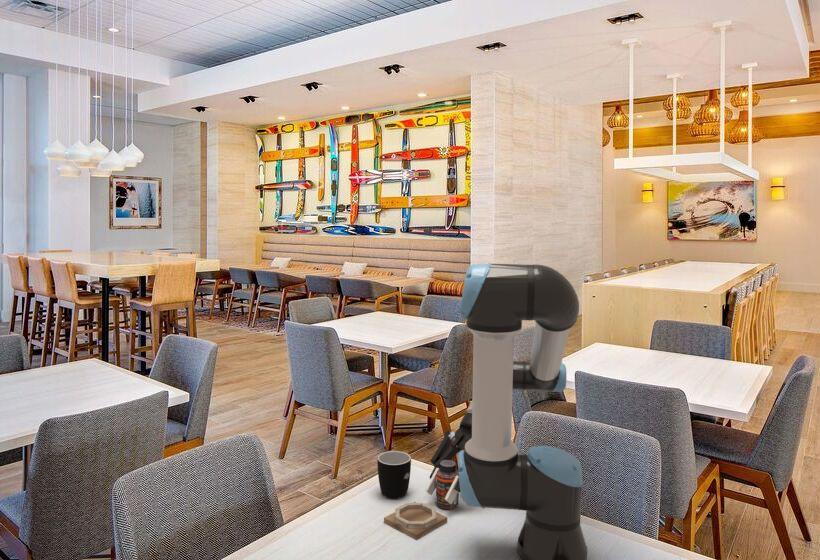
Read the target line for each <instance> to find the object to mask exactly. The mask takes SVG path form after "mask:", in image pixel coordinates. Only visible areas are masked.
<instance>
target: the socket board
mask: <svg viewBox="0 0 820 560" xmlns="http://www.w3.org/2000/svg"><path fill="white" fill-rule="evenodd" d="M394 510H395V511H394V512H393V513H390V514H389V515H387V516H384V517H383V523H384V524H386V525H387V526H390V527H392V528H394V530H395V529H396V531H400V532H401V533H403V534H405V535H407V536H408V537H410V538H411V539H412V538H413V539H415V540H416V539H418V540H419V539H421V538H422V536H423V537H424V536H426V535H427V534H430V533H431V532H433V531H435V530H436V529H438V528H440V527H442V526H443V525H445V524H447V523H448V516H446V515H443V514H442V513H439V512H437V510H436V507H434V506H431V505H429V504H427V503H425V502H416V501H413V502H406V503H404V504H402V505H400V506H398V507H396V508H395V509H394Z"/></svg>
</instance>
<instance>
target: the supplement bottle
mask: <svg viewBox="0 0 820 560" xmlns="http://www.w3.org/2000/svg"><path fill="white" fill-rule="evenodd" d="M456 465H457V464H456V462H455V461H454V460H452V459H451V460H444V461H441V462H440V469H438V471H437V473H436V489H435V504H436V506H437V507H439V508H440V509H444V510H453V509H455V508H457V507H458V505H459V498H460V497H459V496H460V495H459V494H460V492H458V493H457V495H456V497H455V499H454V501H453V503H452V504H449V503H448V502H447V501H446V500H445V497H446V495H447V493H448V491H449V489H450V487H451V485H452V483H453V481H454V479H455V477H456V475H457V476H459V470H458V469H457V468H456Z"/></svg>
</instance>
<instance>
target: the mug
mask: <svg viewBox="0 0 820 560" xmlns="http://www.w3.org/2000/svg"><path fill="white" fill-rule="evenodd" d="M411 466H412V457H411V455H410V454H408V453H407V452H404V451H402V450H401V451H399V450H388V451H385V452H382V453H379V455H378V457H377V473H378V475H377V476H378V484H379V488H380V492H381V494H382V495H383V497H384V498H387V499H389V498H390V500H397V499H398V498H399V499H402V498H403V496H404V497H405V496H406V494H407V493H408V490H409V486H410V480H411V479H410V478H411V470H412V469H411V468H412V467H411ZM401 497H402V498H401ZM399 499H398V500H399Z"/></svg>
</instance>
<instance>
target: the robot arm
mask: <svg viewBox="0 0 820 560" xmlns="http://www.w3.org/2000/svg"><path fill="white" fill-rule="evenodd" d="M462 289H463V290H462V294H461V303H460V311H459V317H460V318H461V319H463V320H466V329H467V330H468V331H469V332H470V333H471V334H472V335H473V345H472V346H473V347H472V349H473V351H472V352H473V353H472V354H473V355H472V358H473V359H472V400H471V402H470V404H469V405H468V408H467V409H466V412H465V413H464V415H463V417H462V419H461V420H460V422H459V428H457V429H456V430H455V431H450V430H449V429H448V430H446V431H445V433H444V436H443V439H442V440H441V443H440V445H439V446H438V447H437V449H436V451H435V452H434V454H433V455H432V458H431V460H430V463H431V464H432V465H433V466H434V467H433V469H432V471H431V473H430V475H429V482H428V483H427V486H426V487H425V489H424V491H425V492H426V493H427V494H428V495H430V496H433V494H434V492H436V473H437V471H438V469H440V462H441V461H444V460H451V461H452V460H453V458H454V457H456V455H457V454H458V456H457V467H458V469H457V471H458V472H459V476H457V475H456V477H455V479H454V481H453V483H452V485H451V487H450V489H449V491H448V493H447V495H446V497H445V500H446V501H447V502H448V503H449V504H452V503H453V501H454V499H455V497H456V495H457V493H458V492H459V493H460V496H461V499H462V501H463V503H465V505H467V506H470V507H479V508H481V509H485V508H487V509H489V508H490V509H499V510H500V509H501V510H502V509H503V510H515V511H525V519H524V522H523V524H522V527H521V530H520V531H519V533H518V534H519V535H518V537H517V542H516V544H517V545H516V548H517V549H516V552H517V555H518V557H519V559H520V560H588V553H589V552H588V546H587V544H586V540H585V539H586V538H585V537H584V532H583V529H582V527H581V526H582V525H581V518H582V517H581V515H582V513H581V510H582V488H583V484H584V481H583V467H582V464H581V462H580V460H579V459H578V458H577V457H576V456H575V455H573V454H572V453H570V452H569V451H566V450H563V449H561V448H557V447H554V446H549V445H537V446H532V447H530V448H529V449H528V451H527V452H526V454H519V447H518V446H517V444H516V443H515V442H514V441H513V440H512V425H513V424H512V420H513V419H512V418H513V417H512V416H513V392H514V391H530V392H531V391H532V392H533V391H534V392H546V393H547V392H548V393H553V392H557V393H558V392H559V393H560V392H563V391H565V390H566V387H567V367H566V364H565V363H563V362H562V361H563V358H564V356H565V351H566V350H565V349H566V345H567V341H568V337H569V334H570V329H572V328H573V327H574V326H575V324H576V322H577V321H578V318H579V314H580V313H579V312H580V301H579V297H578V294H577V292H576V290H575V288H574V286H573V285H572V283H571V282H570V281H569V280H568V279H567V277H566V276H564V275H563V274H562V273H561V272H559V271H558V270H556V269H554V268H552V267H549V266H547V265H543V264H519V263H518V264H514V263H510V264H509V263H491V262H488V263H478V264H476V263H475V264H471V265H470V266H469V267H467V270H466V272H465V278H464V282H463V288H462ZM523 321H535V325H534V332H533V333H534V334H533V341H532V348H531V354H530V361H527V360H526V361H524V360H523V361H521V360H514V352H515V351H514V350H515V348H514V347H515V336H516V335H517V334H518V333H519V332H521V331H522V329H523V326H522V325H523Z"/></svg>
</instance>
